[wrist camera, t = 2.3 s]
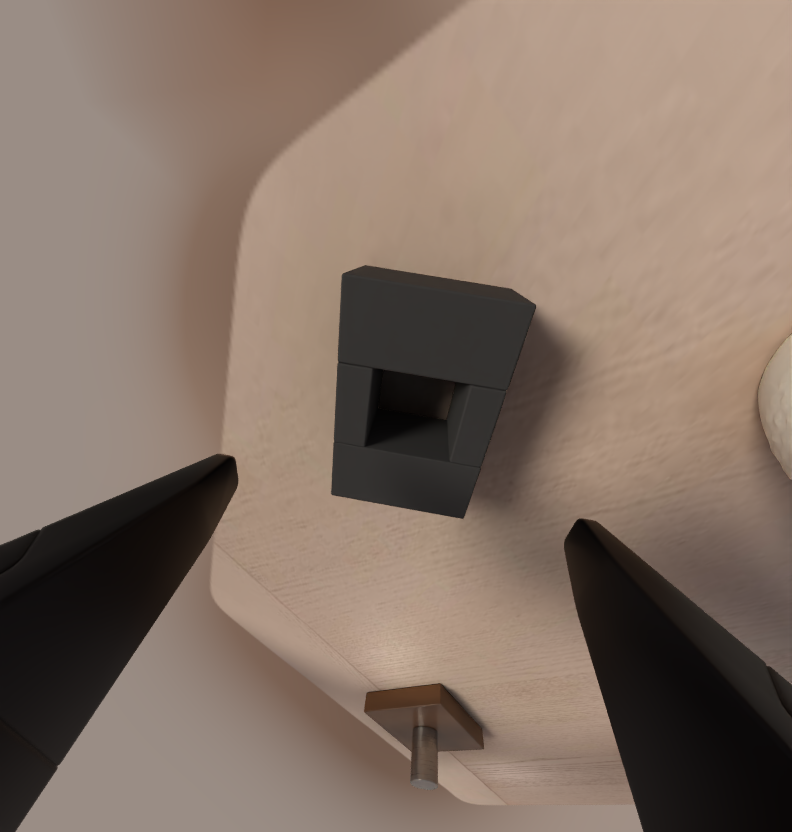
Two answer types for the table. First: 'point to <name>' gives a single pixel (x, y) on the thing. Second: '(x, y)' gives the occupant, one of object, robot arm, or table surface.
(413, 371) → the black sloped block
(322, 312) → the table surface
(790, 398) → the mug
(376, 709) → the base pad
